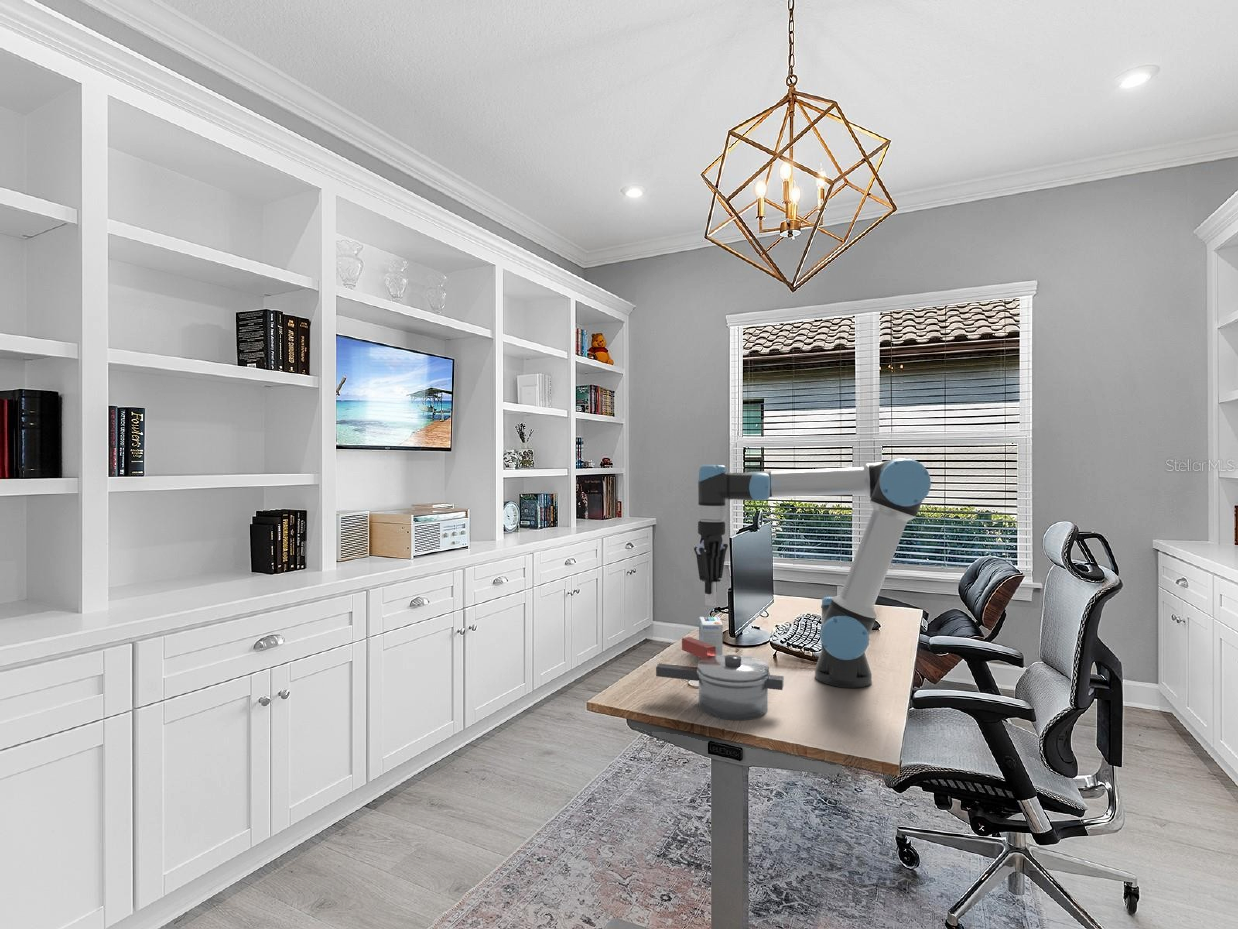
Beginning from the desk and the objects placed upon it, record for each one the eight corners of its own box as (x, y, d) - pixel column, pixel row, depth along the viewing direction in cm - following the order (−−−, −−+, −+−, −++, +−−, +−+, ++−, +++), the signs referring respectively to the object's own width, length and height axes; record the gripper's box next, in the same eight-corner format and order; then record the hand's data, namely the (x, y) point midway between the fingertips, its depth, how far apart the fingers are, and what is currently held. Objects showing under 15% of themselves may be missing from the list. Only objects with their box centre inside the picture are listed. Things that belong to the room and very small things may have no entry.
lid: (784, 673, 165) (784, 659, 165) (729, 686, 156) (729, 671, 155) (711, 646, 189) (711, 633, 189) (659, 655, 180) (659, 642, 180)
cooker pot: (785, 700, 172) (786, 665, 172) (779, 727, 155) (779, 688, 155) (666, 686, 182) (666, 653, 182) (648, 710, 165) (648, 673, 165)
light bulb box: (698, 649, 218) (698, 616, 218) (719, 649, 218) (719, 616, 218) (701, 659, 208) (701, 624, 208) (723, 659, 207) (723, 624, 207)
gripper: (714, 518, 193) (713, 599, 194) (686, 520, 184) (685, 606, 184) (736, 519, 188) (735, 603, 189) (708, 523, 179) (707, 611, 179)
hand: (710, 605), depth 186 cm, fingers closed
